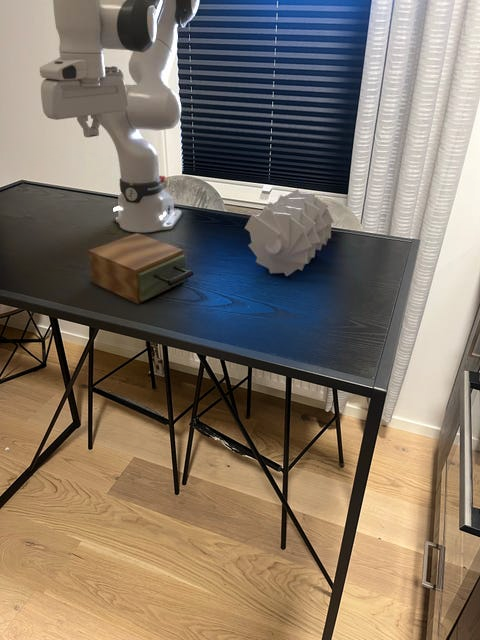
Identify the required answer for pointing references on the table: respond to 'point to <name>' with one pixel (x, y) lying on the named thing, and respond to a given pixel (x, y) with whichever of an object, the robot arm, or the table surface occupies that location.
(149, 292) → the drawer
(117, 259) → the cabinet
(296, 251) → the spiral staircase
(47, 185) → the table surface
